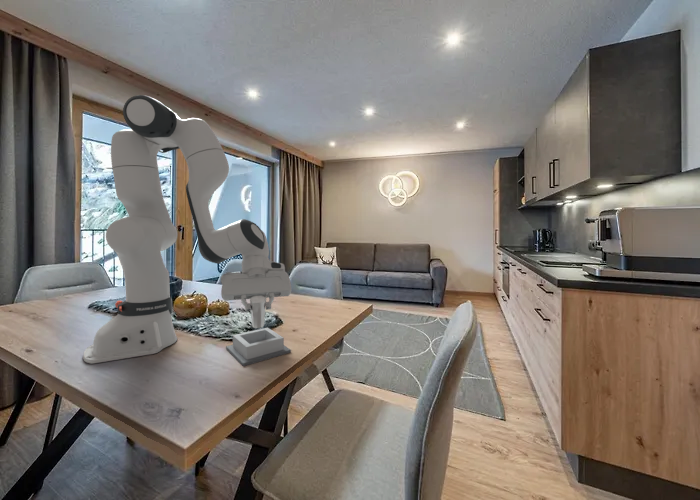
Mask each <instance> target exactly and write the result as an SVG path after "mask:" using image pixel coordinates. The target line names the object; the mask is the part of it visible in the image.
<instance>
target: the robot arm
mask: <svg viewBox="0 0 700 500" xmlns="http://www.w3.org/2000/svg"><path fill="white" fill-rule="evenodd" d="M122 115H123V119H124V121H125V123H126V125H128V127H129V128H130V129H121V130H118V131H116V132H114V133H113V135H112V136H111V143H110V159H111V168H112V174H113V180H114V185H115V187H114V188H115V192H116V193H115V194H116V196H117V199H118V200H119V201H120V202H121V203H122V205H123V206H124V208H125V210H126V212H127V215H128V216H126V217H122V218H120V219H117V220H115V221H113V222H112V223H110V225H109V226H108V227H107V229H106V232H105V240H106V242H107V245H108V246H109V247H110V248H111V250H113V252H115V254H116V255H117V257H118V260H119V262H120V265H121V268H122V270H123V276H124V286H125V300H117V301H116V302H115V308H116V309H117V315H116V316H114V317H113V318H112V319H110V320H109V321H107V323H105V324H103V325H102V326H101V327H100V328H98V329H97V331H96V332H95V335H94V338H93V343H92V345H89V346H88V347H87V348H85V349H84V351H83V356H82V357H83V361H84V362H85V363H87V364H92V365H93V364H98V363H105V362H111V361H117V360H118V361H119V360H123V359H129V358H136V357H141V356H148V355H153V354H157V353H159V352H161V351H162V350H163V349H165V348H167V347H169V346H171V345H173V344H175V343H176V342H177V340H178V336H177V334H176V332H175V328H174V323H173V319H172V314H173V299H172V296H171V290H170V272H169V270H168V269H167V267H166V265H165V263H164V260H163V257H162V251H166V250H167V249H169V248H170V247H172V246H173V245H174V244H175V243H176V241H177V240H178V230H177V228H176V226H175V224H173V221H172V219H171V216H170V213H169V210H168V208H167V205H166V202H165V200H164V196H163V192H162V185H161V179H160V178H161V177H160V172H159V166H158V159H157V158H158V153H162V154H166V153H169V152H171V151H174V150H180V151H181V153H182V155H183V158H184V159H185V162H186V164H187V168H188V182H186V185H185V192H186V197H187V202H188V205H189V210H190V214H191V218H192V220H193V223H194V227H195V233H196V235H197V236H196V238H197V246H198V251H199V253H200V255H201V256H202V258H203V259H205V260H206V261H208V262H209V263H210V262H211V263H214V264H218V265H219V264H221V263H224V262H225V261H227V260H229V259H230V258H233V257H235V256H237V255H241V256H242V257H241V258H242V261H241V271H234V272H231V271H228V272H226V273H223V274H222V275H221V276H220V283H221V293H220V295H221V299H222V300H223V301H226V302H227V301H238V300H239V301H241V304H242V305H243V307H245V308H244V309H245V311H244V312H251V304H250V302H249V303H248V302H247V300H250V299H251V298H252V297H253V296H263V297H265V298H266V296H267V298H266V299H268V300H269V301H266V306H265V311H266V310H272V304H273V302H274V300H275V298H278V297H279V298H281V297H289V296H290V295H291V293H292V283H291V280H290V276H289V274H288V272H287V271H286V267H285V264H284V263H281V262H277V261H273V260H271V259H270V258H269V256H270V255H269V254H270V250H269V249H270V248H269V243H268V240H267V239H268V238H267V237H266V234H265V232H264V231H263V230H262V229H261V228H260V226H259V225H257V223H255V222H253V221H251V220H249V219H245V218H242V219H239V220H236V221H234V222H232V223H229V224H227V225H224V226H223V227H220V228H218V229H215V227H214V224H213V220H212V217H211V212H210V209H209V202H210V199H211V197H212V196H213V194H214V193H215V192H216V191H217V190H218V189H219V188H220V187H221V186H222V185H223V183H224V182H225V181H226V179H227V177H228V176H229V172H230V166H229V165H230V164H229V162H228V159H227V155H226V154H225V151H224V149H223V147H222V145H221V142H220V141H219V139H218V138H217V135H216V134H215V131H214V130H213V129H212V128H211V126H210V125H209V123H208V122H207V121H205V120H204V119H201V118H198V117H191V118H187V119H182V118H181V117H180V116H178V114H177V113H176V112H174V111H173V110H172V109H171V108H170V107H167V106H166V105H165V104H164V103H162V102H161V101H160V100H158V99H156V98H153V97H152V96H149V95H144V94H142V95H141V94H138V95H137V94H136V95H134V96H131V97H130V98H128V99H127V100H126V102H124V105H123V107H122ZM267 294H268V295H267Z"/></svg>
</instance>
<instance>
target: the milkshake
mask: <svg viewBox="0 0 700 500" xmlns="http://www.w3.org/2000/svg"><path fill="white" fill-rule="evenodd" d="M267 295H268V294H267ZM267 299H268V298H267V296H266V298H265V297H263V296H253V297H252V298H251V299H249V303H250V304H251V311H250V315H251V325H252V328H253V329H262V328H264V326H265V315H266V314H265V313H266V302H267Z"/></svg>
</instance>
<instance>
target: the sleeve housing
mask: <svg viewBox="0 0 700 500" xmlns="http://www.w3.org/2000/svg"><path fill="white" fill-rule="evenodd" d="M284 341H285V337H283V336H281V335H280V334H278V333H277V332H276V331H274V330H272V329H271V328H269V327H262V328H258V329H256V330H250V331H246V332H240V333H237V334H232V344H230V345H226V346H225V349H226V351H228V352H229V354H231V355H232V356H233V358H234V359H235V360H236V361H237V362H238V363H239V364H240V365H242V367H245V366H248V365H252V364H256V363H259V362H262V361H265V360H269V359H273V358H278V357H280V356H283V355H286V354H290V353H291V352H292V349H290V348H289V347H287V346H286V345H285V343H284Z"/></svg>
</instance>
